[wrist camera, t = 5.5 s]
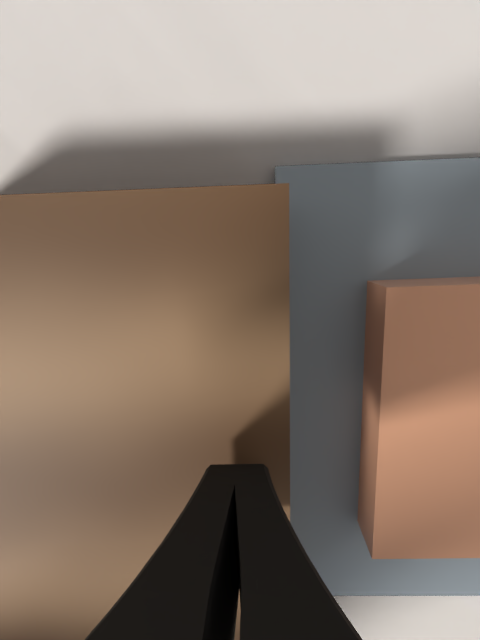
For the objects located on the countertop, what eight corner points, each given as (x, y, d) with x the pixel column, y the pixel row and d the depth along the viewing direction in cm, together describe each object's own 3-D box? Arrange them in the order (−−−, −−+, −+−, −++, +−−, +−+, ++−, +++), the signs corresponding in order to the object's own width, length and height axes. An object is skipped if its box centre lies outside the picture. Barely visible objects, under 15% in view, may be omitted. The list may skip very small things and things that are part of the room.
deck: (279, 566, 14) (290, 691, 10) (37, 567, 14) (-42, 688, 11) (275, 203, 11) (288, 182, 7) (-35, 214, 11) (-184, 202, 7)
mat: (581, 585, 14) (591, 595, 14) (279, 585, 14) (280, 595, 14) (681, 151, 10) (698, 147, 10) (274, 168, 11) (275, 166, 10)
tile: (372, 559, 12) (357, 520, 13) (560, 557, 11) (522, 518, 13) (386, 287, 9) (367, 280, 11) (615, 279, 9) (563, 273, 11)
